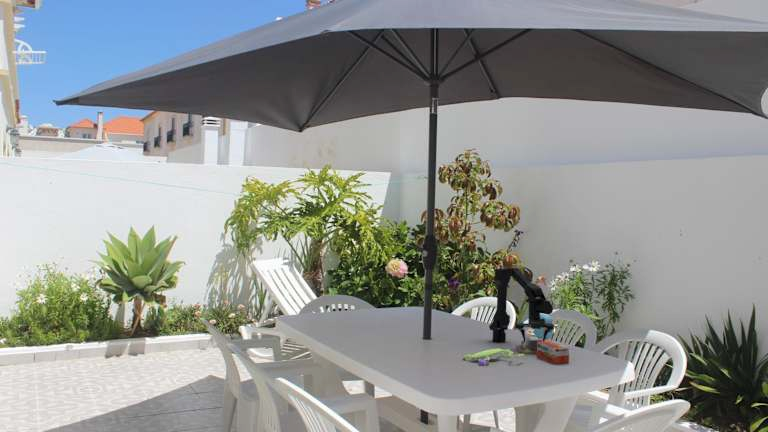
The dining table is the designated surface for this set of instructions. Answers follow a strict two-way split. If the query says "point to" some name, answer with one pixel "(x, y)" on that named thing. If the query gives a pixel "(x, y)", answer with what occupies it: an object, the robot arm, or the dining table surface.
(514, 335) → the dining table surface
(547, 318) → the data package
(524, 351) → the pin tray
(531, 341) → the drive
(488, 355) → the figurine
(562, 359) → the medicine box
